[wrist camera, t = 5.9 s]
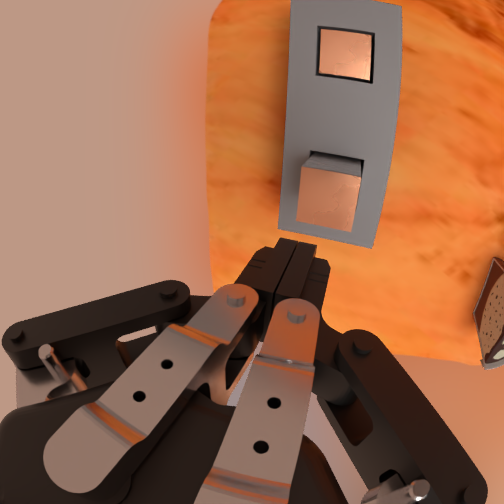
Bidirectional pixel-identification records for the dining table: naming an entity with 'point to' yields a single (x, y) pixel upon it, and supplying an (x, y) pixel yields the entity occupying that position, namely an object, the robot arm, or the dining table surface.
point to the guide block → (341, 109)
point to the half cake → (491, 317)
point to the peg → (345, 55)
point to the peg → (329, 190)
